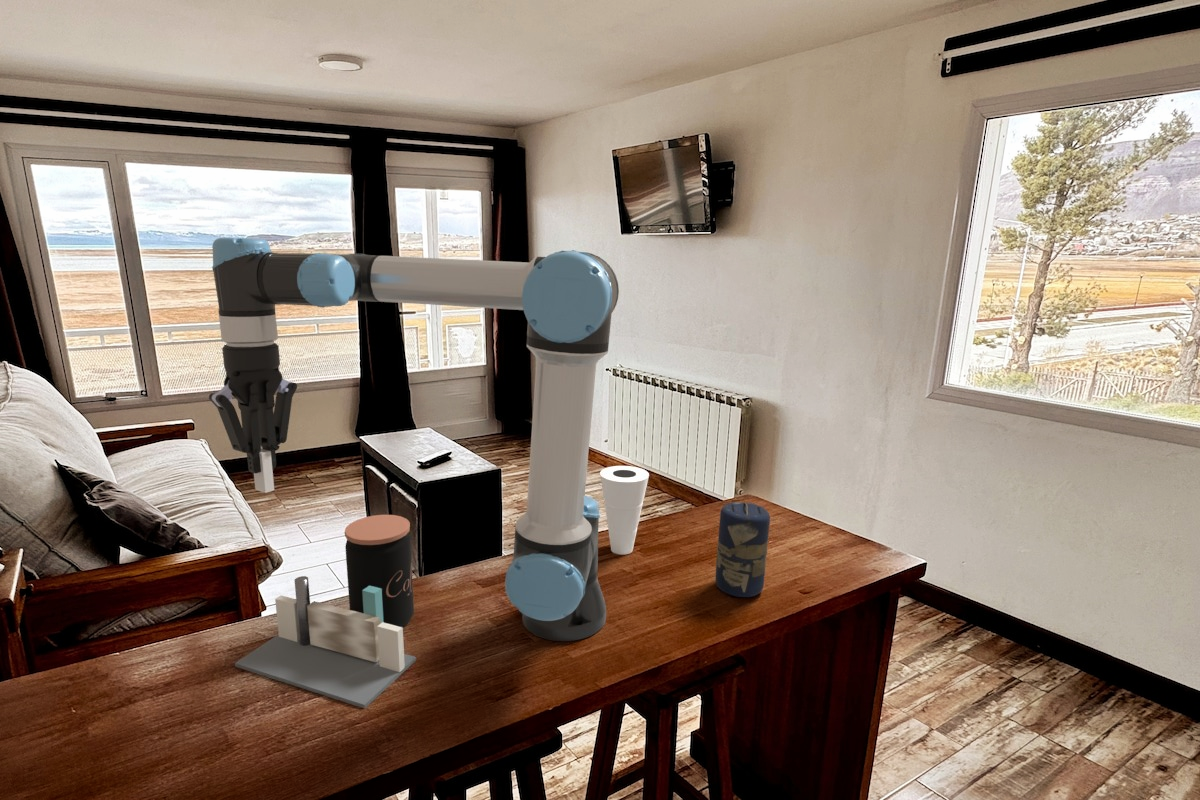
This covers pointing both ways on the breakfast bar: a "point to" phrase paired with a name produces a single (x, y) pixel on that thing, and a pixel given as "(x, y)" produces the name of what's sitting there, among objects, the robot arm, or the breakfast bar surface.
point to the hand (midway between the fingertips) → (264, 489)
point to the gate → (344, 631)
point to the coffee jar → (381, 565)
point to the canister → (742, 549)
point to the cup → (623, 504)
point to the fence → (387, 633)
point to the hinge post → (303, 608)
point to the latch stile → (373, 602)
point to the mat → (322, 670)
